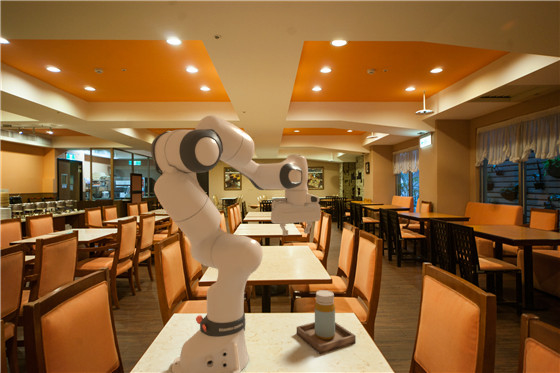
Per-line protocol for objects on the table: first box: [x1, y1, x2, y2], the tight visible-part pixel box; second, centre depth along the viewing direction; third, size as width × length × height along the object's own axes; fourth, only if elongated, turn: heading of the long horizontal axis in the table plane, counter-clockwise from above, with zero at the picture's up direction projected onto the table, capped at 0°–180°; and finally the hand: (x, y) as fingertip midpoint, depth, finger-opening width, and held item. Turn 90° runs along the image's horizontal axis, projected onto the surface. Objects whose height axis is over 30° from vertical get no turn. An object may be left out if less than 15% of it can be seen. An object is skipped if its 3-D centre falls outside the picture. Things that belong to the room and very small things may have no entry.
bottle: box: [314, 289, 336, 340], centre depth 105 cm, size 7×7×15 cm
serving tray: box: [296, 321, 357, 355], centre depth 105 cm, size 15×15×2 cm
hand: (296, 234), depth 115 cm, fingers open, 8 cm apart
